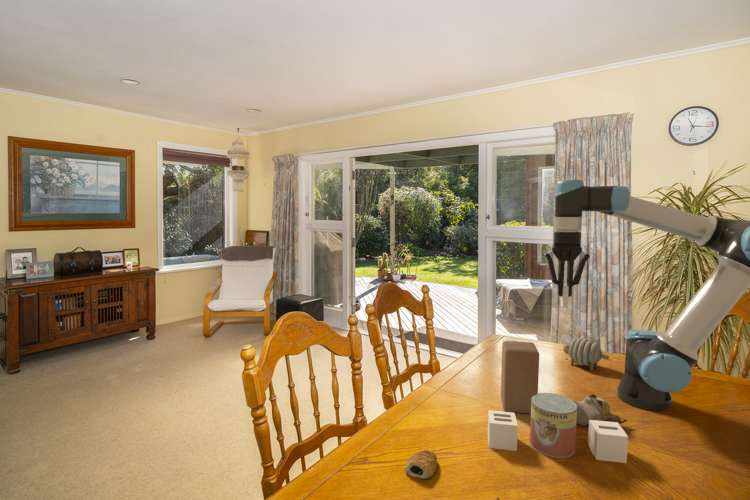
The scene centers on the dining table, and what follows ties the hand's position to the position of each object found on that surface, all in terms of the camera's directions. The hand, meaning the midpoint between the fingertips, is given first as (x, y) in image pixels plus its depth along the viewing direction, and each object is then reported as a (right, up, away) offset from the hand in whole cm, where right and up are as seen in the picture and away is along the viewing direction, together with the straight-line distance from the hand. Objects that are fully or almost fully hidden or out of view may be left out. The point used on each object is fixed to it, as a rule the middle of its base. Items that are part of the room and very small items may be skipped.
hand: (564, 306), depth 130 cm
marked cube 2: (+1, -35, -22) cm, 41 cm away
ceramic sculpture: (+6, -34, -6) cm, 35 cm away
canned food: (-12, -35, -19) cm, 41 cm away
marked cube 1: (-25, -35, -17) cm, 46 cm away
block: (-13, -33, +3) cm, 35 cm away
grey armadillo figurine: (+24, -29, +36) cm, 52 cm away
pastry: (-48, -36, -28) cm, 66 cm away
